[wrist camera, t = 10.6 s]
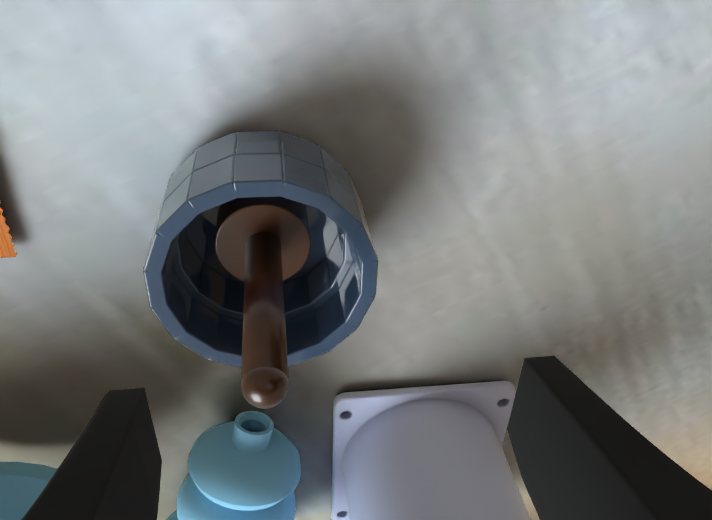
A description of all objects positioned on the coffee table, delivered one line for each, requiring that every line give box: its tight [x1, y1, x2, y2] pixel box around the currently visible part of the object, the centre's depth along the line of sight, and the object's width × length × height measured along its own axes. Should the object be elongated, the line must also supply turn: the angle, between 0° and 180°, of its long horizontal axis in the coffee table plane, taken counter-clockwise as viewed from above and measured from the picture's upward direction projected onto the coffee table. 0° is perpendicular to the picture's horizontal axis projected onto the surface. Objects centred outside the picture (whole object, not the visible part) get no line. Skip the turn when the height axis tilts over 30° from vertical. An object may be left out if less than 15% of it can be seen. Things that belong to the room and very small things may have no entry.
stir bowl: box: [143, 131, 378, 368], centre depth 19 cm, size 7×7×4 cm
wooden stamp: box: [214, 197, 311, 409], centre depth 17 cm, size 3×3×8 cm
